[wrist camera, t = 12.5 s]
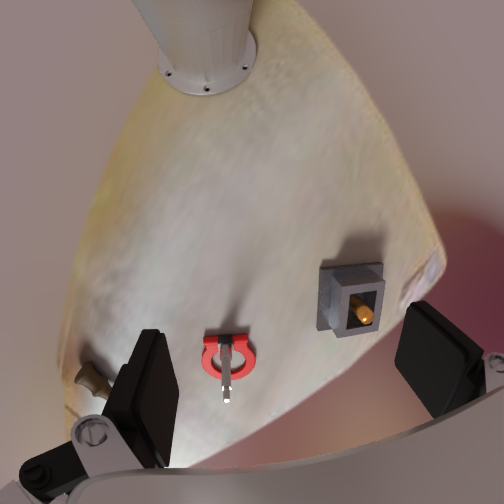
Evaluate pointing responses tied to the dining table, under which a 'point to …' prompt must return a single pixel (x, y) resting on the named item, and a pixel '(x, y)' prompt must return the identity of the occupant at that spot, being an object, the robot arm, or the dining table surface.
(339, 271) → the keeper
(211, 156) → the dining table surface
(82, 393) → the dining table surface
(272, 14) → the dining table surface
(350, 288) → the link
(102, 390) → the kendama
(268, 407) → the dining table surface
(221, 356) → the tow hook
